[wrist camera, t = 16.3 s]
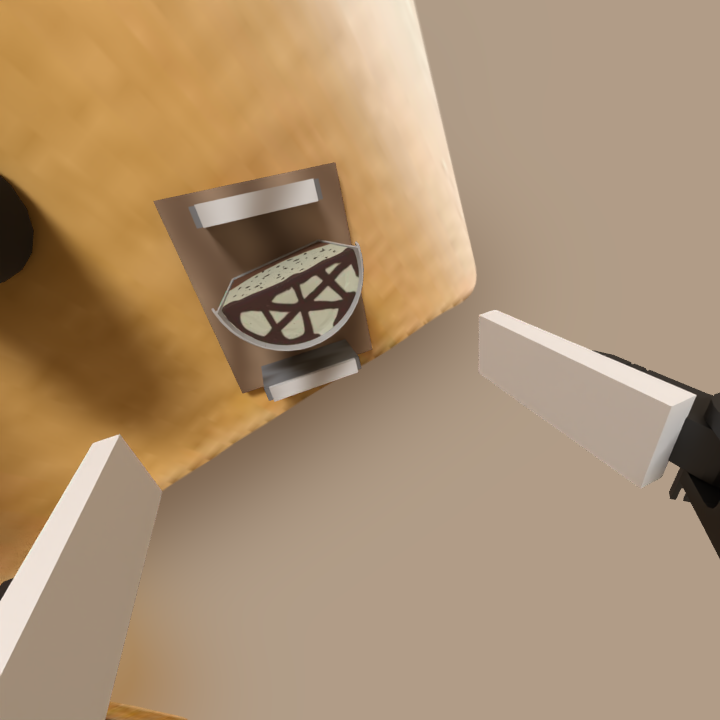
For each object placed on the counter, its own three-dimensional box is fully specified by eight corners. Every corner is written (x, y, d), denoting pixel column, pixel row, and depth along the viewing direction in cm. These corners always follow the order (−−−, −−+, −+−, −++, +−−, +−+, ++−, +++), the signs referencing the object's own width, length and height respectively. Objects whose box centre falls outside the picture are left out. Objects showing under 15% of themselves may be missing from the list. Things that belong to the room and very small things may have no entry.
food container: (250, 337, 34) (253, 383, 26) (217, 285, 31) (209, 317, 22) (353, 288, 35) (389, 315, 27) (332, 232, 32) (365, 244, 24)
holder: (242, 387, 38) (243, 421, 32) (157, 201, 28) (135, 201, 22) (368, 344, 41) (389, 369, 35) (331, 164, 31) (352, 155, 25)
